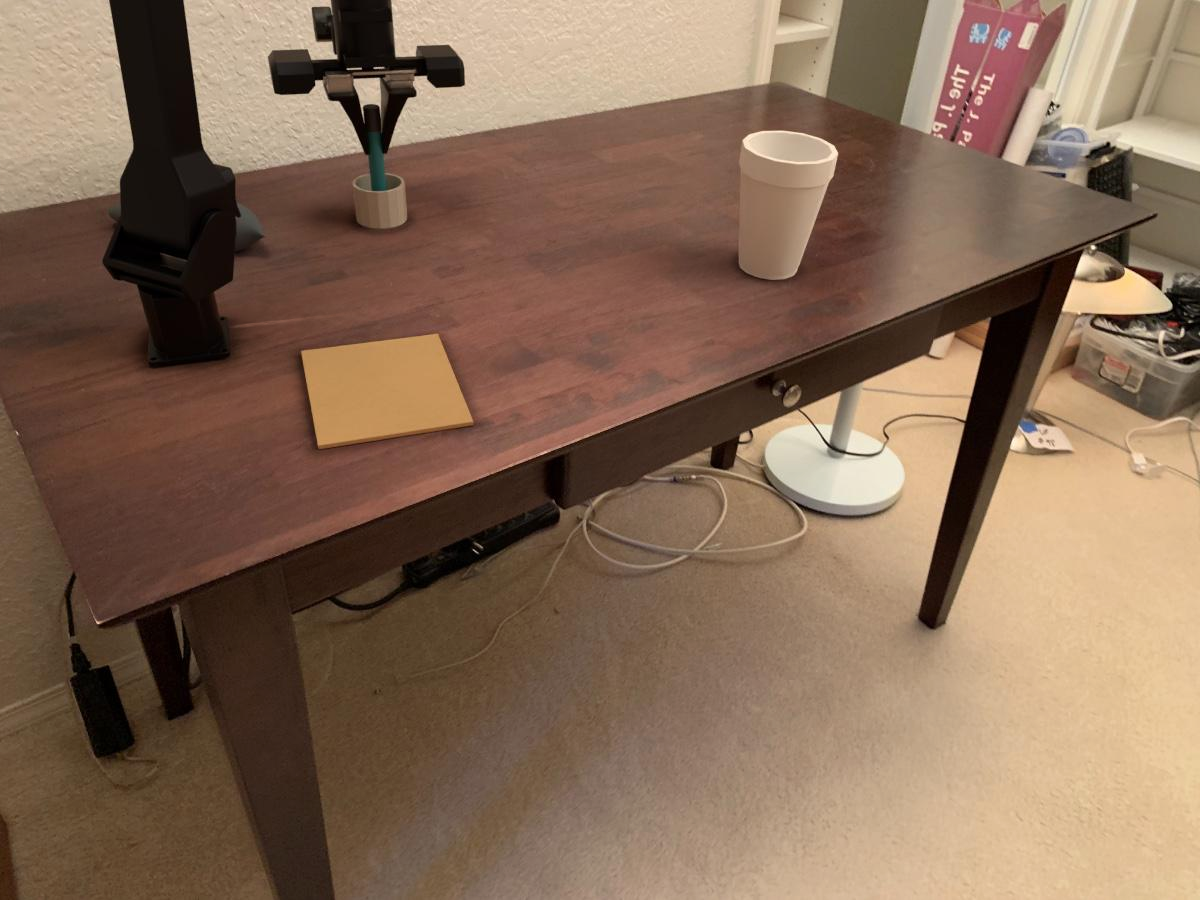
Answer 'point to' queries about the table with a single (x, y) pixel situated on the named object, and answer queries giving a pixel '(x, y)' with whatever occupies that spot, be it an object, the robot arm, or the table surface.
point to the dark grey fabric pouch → (245, 225)
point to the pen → (375, 147)
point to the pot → (380, 202)
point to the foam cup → (780, 199)
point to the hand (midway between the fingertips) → (375, 153)
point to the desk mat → (382, 390)
